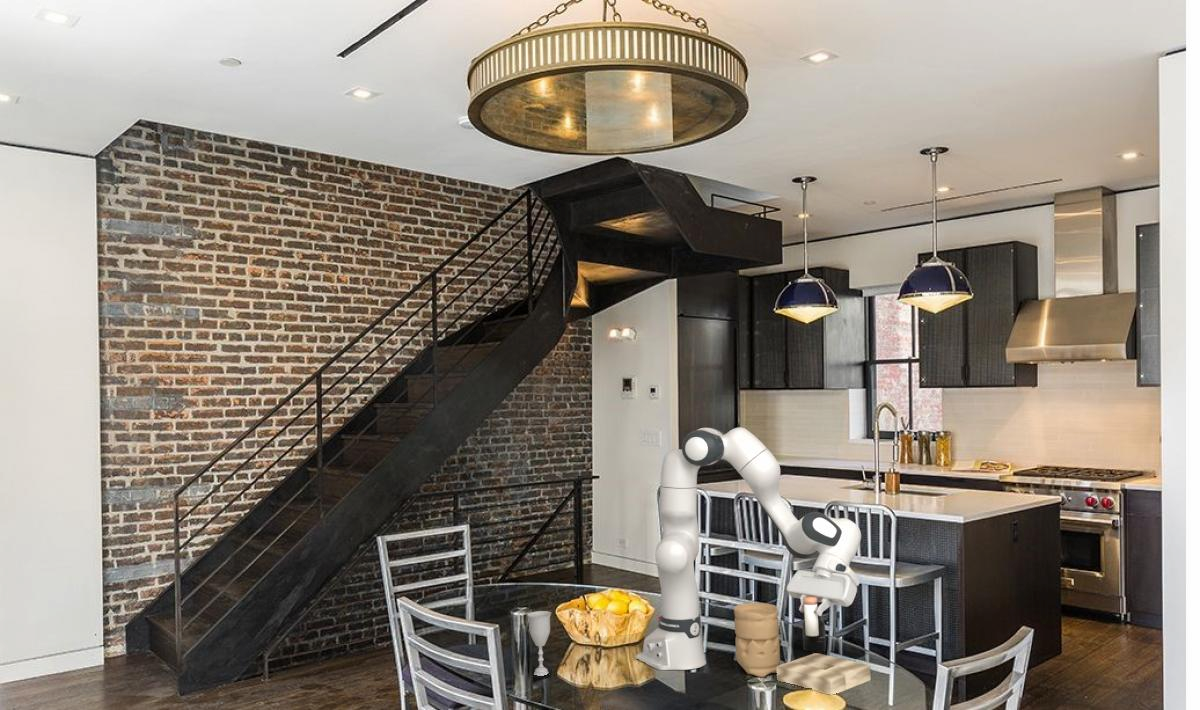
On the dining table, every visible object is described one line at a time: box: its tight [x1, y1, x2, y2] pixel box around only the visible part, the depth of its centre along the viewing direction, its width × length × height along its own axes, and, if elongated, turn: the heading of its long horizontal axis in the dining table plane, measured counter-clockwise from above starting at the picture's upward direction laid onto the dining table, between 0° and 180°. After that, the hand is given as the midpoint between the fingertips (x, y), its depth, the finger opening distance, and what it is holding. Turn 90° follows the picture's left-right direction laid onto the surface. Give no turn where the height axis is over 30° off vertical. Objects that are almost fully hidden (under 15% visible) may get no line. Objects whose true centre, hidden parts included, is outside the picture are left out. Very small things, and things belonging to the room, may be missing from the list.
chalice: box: [527, 610, 552, 676], centre depth 261 cm, size 7×7×18 cm
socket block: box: [776, 652, 872, 695], centre depth 248 cm, size 18×18×4 cm
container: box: [733, 602, 781, 678], centre depth 260 cm, size 13×13×18 cm
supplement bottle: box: [802, 615, 827, 653], centre depth 278 cm, size 7×7×12 cm
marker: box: [803, 596, 819, 636], centre depth 245 cm, size 4×4×10 cm
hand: (809, 613), depth 244 cm, fingers closed on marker, 3 cm apart
